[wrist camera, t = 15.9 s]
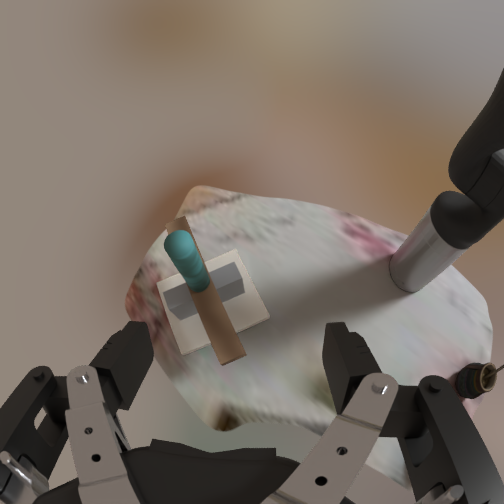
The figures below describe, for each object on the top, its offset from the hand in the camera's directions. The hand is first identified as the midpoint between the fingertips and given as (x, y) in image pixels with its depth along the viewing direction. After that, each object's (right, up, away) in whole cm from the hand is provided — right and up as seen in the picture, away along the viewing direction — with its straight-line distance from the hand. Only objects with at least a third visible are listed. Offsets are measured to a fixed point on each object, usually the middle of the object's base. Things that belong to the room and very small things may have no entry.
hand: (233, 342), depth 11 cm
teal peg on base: (-7, -1, +29) cm, 30 cm away
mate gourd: (+43, -22, +25) cm, 54 cm away
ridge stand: (-6, -5, +36) cm, 37 cm away
